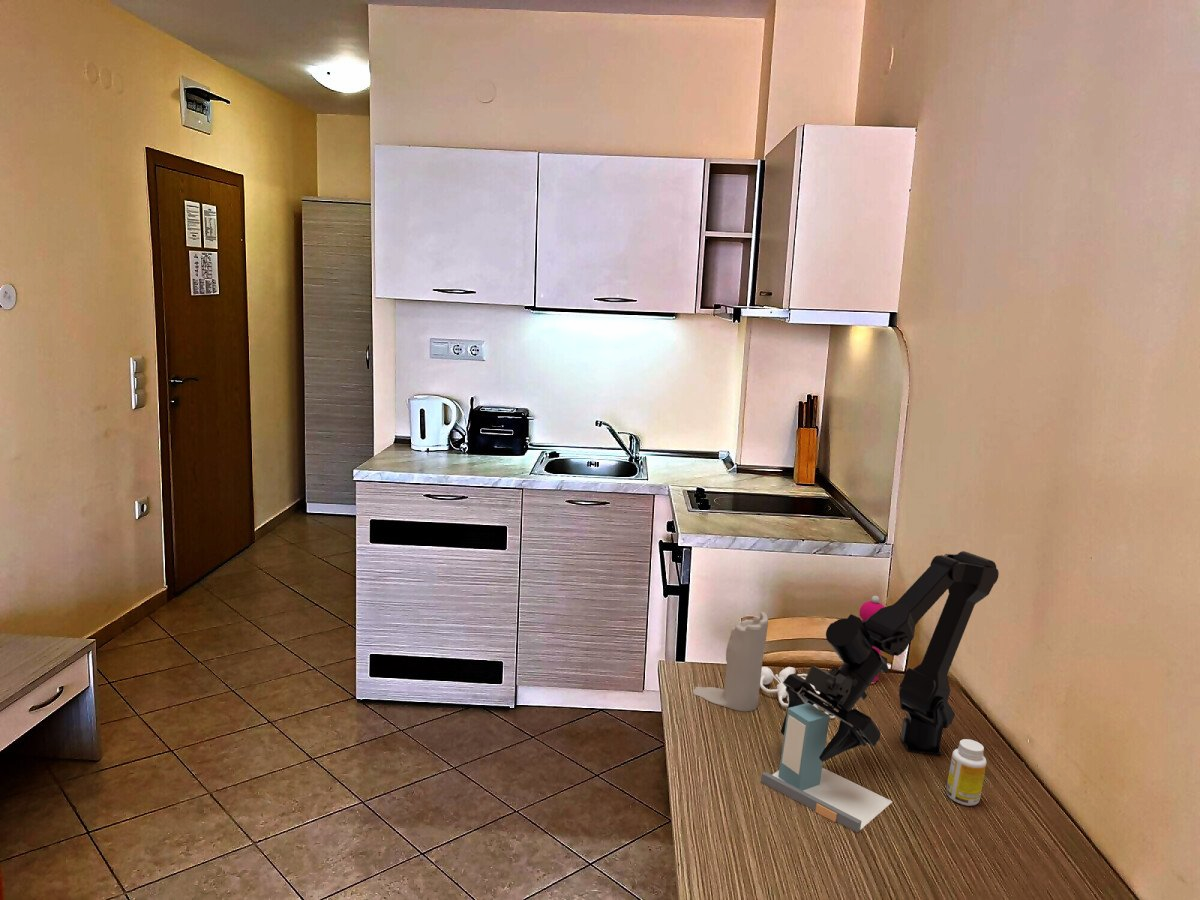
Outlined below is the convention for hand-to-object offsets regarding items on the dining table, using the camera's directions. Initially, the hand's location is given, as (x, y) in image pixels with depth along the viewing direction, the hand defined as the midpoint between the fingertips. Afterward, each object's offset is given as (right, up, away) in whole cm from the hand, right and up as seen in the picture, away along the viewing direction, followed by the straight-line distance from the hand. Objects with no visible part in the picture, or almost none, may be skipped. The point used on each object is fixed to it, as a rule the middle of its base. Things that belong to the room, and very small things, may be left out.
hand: (801, 746), depth 150 cm
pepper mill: (+25, -1, +48) cm, 54 cm away
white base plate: (+4, -9, -1) cm, 10 cm away
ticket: (+2, -10, -8) cm, 13 cm away
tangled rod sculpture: (+8, -2, +36) cm, 37 cm away
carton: (0, -6, +2) cm, 7 cm away
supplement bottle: (+29, -10, +3) cm, 31 cm away
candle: (-9, -1, +32) cm, 34 cm away
